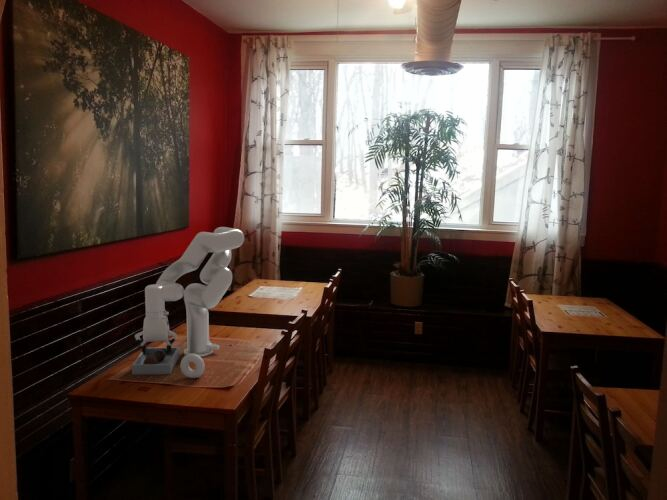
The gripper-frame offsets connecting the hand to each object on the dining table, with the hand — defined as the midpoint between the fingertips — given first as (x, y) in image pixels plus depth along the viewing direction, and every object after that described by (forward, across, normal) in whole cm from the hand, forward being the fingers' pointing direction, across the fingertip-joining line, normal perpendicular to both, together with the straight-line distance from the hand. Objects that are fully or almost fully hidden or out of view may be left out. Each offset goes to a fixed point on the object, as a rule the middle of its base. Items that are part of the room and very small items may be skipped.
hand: (156, 353), depth 225 cm
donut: (+5, -17, +15) cm, 23 cm away
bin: (+5, 0, 0) cm, 5 cm away
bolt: (+4, 0, 0) cm, 4 cm away
